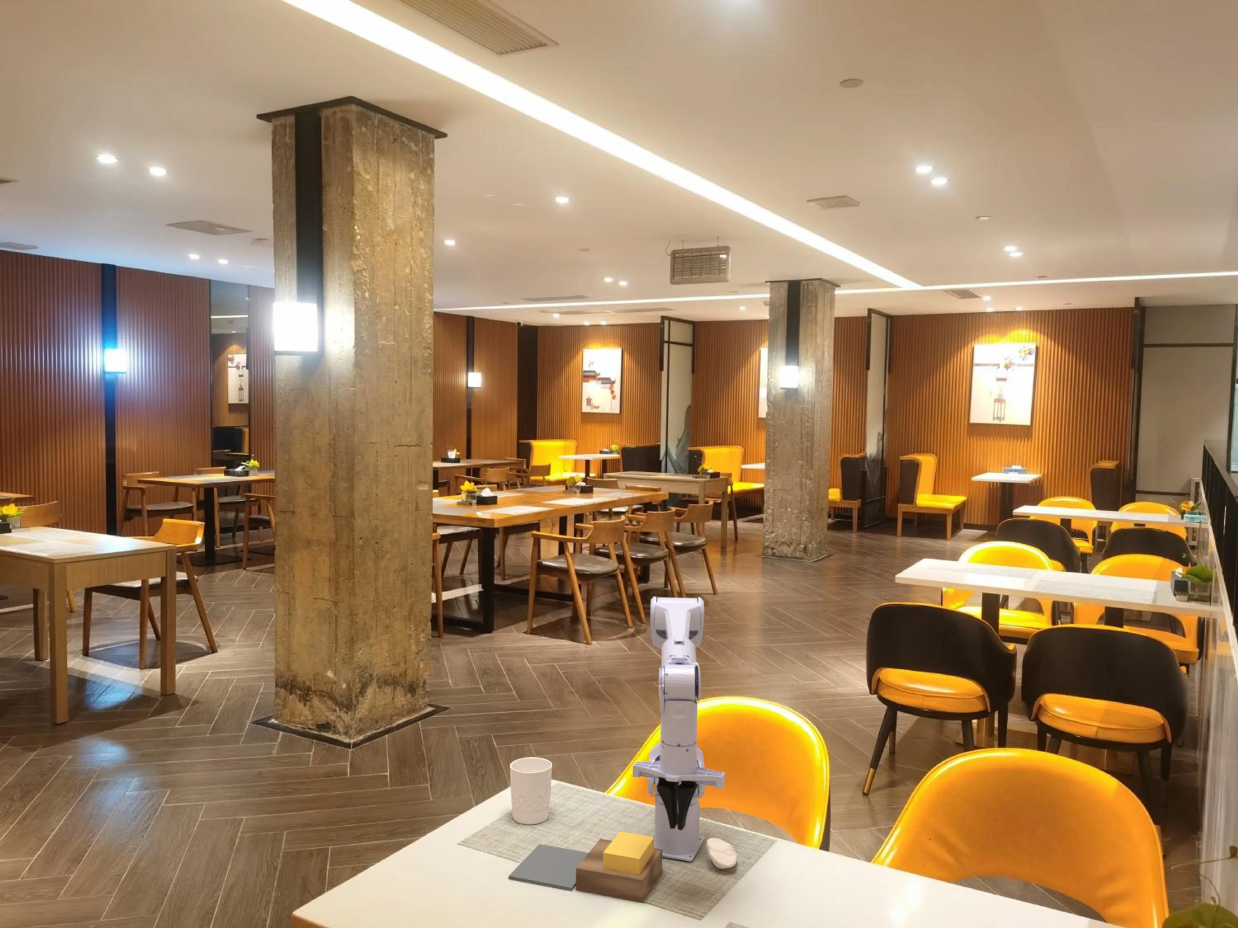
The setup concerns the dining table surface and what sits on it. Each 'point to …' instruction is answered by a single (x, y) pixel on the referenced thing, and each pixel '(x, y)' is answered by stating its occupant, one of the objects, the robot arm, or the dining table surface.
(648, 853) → the yellow cuboid
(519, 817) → the white cup
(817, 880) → the dining table surface
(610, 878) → the brown cuboid
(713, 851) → the dumpling
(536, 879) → the mat
